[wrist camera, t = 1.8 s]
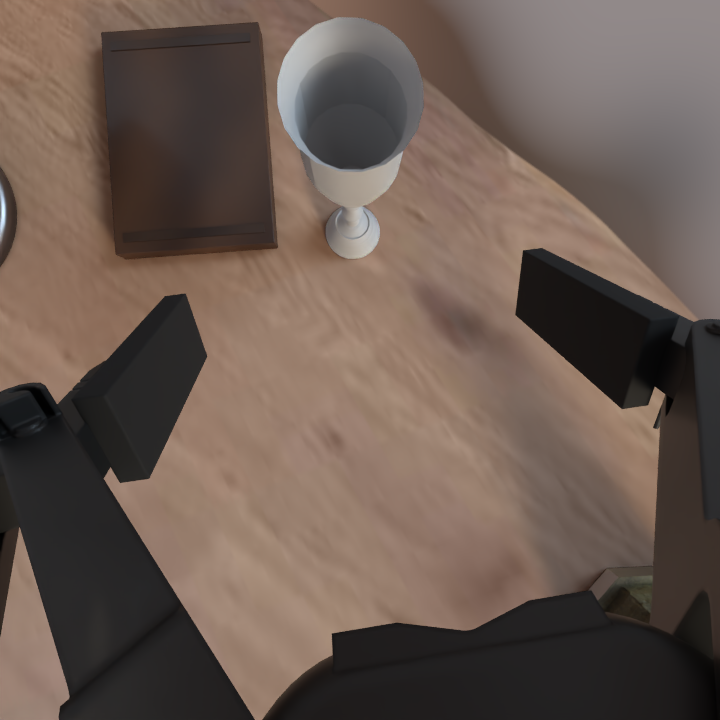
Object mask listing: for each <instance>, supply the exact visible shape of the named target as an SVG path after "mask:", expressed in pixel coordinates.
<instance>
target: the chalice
mask: <svg viewBox="0 0 720 720" xmlns="http://www.w3.org/2000/svg"><path fill="white" fill-rule="evenodd" d="M277 93H278V108H279V111H280V114H281V118H282V121H283V124H284V127H285V129H286V131H287V132H288V134H289V135H290V137H291V138H292V140H293V141H294V143H295V144H296V146H297V147H298V148H299V149H300V152H301V156H302V160H303V164H304V167H305V170H306V173H307V176H308V177H309V179H310V180H311V182H312V183H313V185H314V186H315V188H316V189H317V190H318V191H319V192H321V193H322V194H323V195H324V196H326V197H327V198H328V199H330V200H331V201H332V202H334V203H336V204H338V205H341V206H342V207H340V208H339V209H337V210H336V211H335V212H333V214H332V215H331V216H330V218H329V219H328V222H327V225H326V239H327V242H328V244H329V246H330V247H331V249H332V250H333V251H334V252H335V253H337V254H338V255H339V256H341V257H344V258H347V259H358V258H362V257H365V256H366V255H368V254H369V253H370V252H372V251H373V249H374V248H375V247H376V245H377V243H378V240H379V237H380V227H379V224H378V221H377V219H376V218H375V216H374V215H373V214H372V212H370V211H369V210H368V209H366V208H365V207H362V206H364V205H367V204H370V203H371V202H373V201H374V200H375V199H377V198H378V197H379V196H381V195H382V194H383V193H384V192H386V191H387V190H388V189H389V187H390V186H391V184H392V183H393V181H394V180H395V178H396V176H397V172H398V169H399V165H400V162H401V158H402V153H403V150H404V149H405V148H406V146H407V145H408V143H409V142H410V140H411V139H412V137H413V136H414V134H415V133H416V131H417V129H418V126H419V122H420V119H421V115H422V111H423V108H424V101H423V82H422V78H421V75H420V72H419V69H418V66H417V63H416V60H415V59H414V57H413V56H412V54H411V53H410V52H409V50H408V48H407V47H406V46H405V44H404V42H403V41H402V40H400V39H399V38H398V37H397V36H395V35H394V34H393V33H392V32H390V31H389V30H388V29H387V28H385V27H384V26H382V25H379V24H376V23H374V22H371V21H368V20H365V19H363V18H342V17H338V18H335V19H332V20H329V21H326V22H322V23H319V24H316V25H315V26H313V27H312V28H311V29H310V30H308V31H307V32H306V33H304V34H303V35H302V36H300V37H299V38H298V39H297V40H296V41H295V43H294V44H293V46H292V47H291V49H290V50H289V52H288V53H287V55H286V56H285V58H284V60H283V64H282V67H281V70H280V74H279V77H278V81H277Z"/></svg>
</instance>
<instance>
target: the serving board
mask: <svg viewBox="0 0 720 720" xmlns="http://www.w3.org/2000/svg"><path fill="white" fill-rule="evenodd" d="M101 36H102V52H103V67H104V82H105V98H106V113H107V128H108V144H109V159H110V174H111V190H112V205H113V220H114V236H115V251H116V255H118V256H120V257H122V258H124V259H135V258H148V257H162V256H176V255H189V254H203V253H216V252H230V251H243V250H257V249H270V248H278V245H277V231H276V218H275V204H274V191H273V177H272V164H271V150H270V137H269V123H268V110H267V96H266V83H265V70H264V56H263V43H262V34H261V31H260V27H259V24H258V22H254V23H239V24H223V25H208V26H193V27H178V28H162V29H147V30H132V31H117V32H102V33H101Z"/></svg>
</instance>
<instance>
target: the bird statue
mask: <svg viewBox="0 0 720 720" xmlns="http://www.w3.org/2000/svg"><path fill="white" fill-rule="evenodd" d="M652 582H653V566H643V567H623V568H607V569H606V570H605V571H604V573H603V574H602V575H601V576H600V577H599V578H598V579H597V581H596V582H595V583H594V584H593V585H592V586H591V587H590V589H589V590H592V592H593V594H594V595H595V597H596V598H597V600H598V602H599V603H600V605H601V607H602V608H603V610H604V612H609V613H613V614H618V615H622V616H626V617H630V618H633V619H636V620H639V621H642V622H645V623H648V624H649V622H650V616H651V602H652ZM589 590H588V591H589Z"/></svg>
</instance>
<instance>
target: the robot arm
mask: <svg viewBox="0 0 720 720" xmlns="http://www.w3.org/2000/svg"><path fill="white" fill-rule="evenodd" d="M16 224H17V209H16V202H15V197H14V194H13V191H12V188H11V185H10V183H9V181H8V179H7V177H6V175H5V174H4V172H3V171H2V169H1V168H0V266H1V265H2V263H3V262H4V260H5V259H6V257H7V255H8V253H9V251H10V248H11V246H12V243H13V240H14V237H15V232H16ZM516 316H517V317H518V318H520V319H521V320H522V321H523V322H524V323H525V324H526V325H528V326H529V327H530V328H531V329H532V330H533V331H534V332H535V333H537V334H538V335H539V336H540V337H541V338H542V339H543V340H544V341H546V342H547V343H548V344H549V345H550V346H551V347H552V348H554V349H555V350H556V351H557V352H558V353H559V354H560V355H561V356H563V357H564V358H565V359H566V360H567V361H568V362H569V363H570V364H572V365H573V366H574V367H575V368H576V369H577V370H578V371H580V372H581V373H582V374H583V375H584V376H585V377H586V378H587V379H589V380H590V381H591V382H592V383H593V384H594V385H595V386H596V387H598V388H599V389H600V390H601V391H602V392H603V393H604V394H606V395H607V396H608V397H609V398H610V399H611V400H612V401H613V402H615V403H616V404H617V405H618V406H619V407H620V408H621V409H625V408H632V407H639V406H646V405H648V404H649V401H650V398H651V395H652V392H653V390H654V387H656V388H658V389H659V390H660V391H662V392H663V393H665V394H666V395H665V398H664V400H663V403H662V405H661V408H660V411H659V413H658V416H657V419H656V421H655V424H654V427H653V428H656V429H658V428H659V427H660V440H659V460H658V480H657V501H656V521H655V541H654V562H653V582H652V602H651V616H650V622H649V624H648V623H645V622H642V621H639V620H636V619H633V618H630V617H626V616H622V615H618V614H613V613H609V612H604V610H603V608H602V607H601V605H600V603H599V602H598V600H597V598H596V597H595V595H594V594H593V592H592V590H589V591H583V592H577V593H571V594H565V595H559V596H553V597H547V598H541V599H535V600H530V601H527V602H526V603H524V604H522V605H520V606H518V607H516V608H514V609H512V610H510V611H508V612H506V613H504V614H503V615H501V616H499V617H497V618H495V619H493V620H491V621H489V622H487V623H485V624H483V625H481V626H480V627H478V628H476V629H473V630H469V631H461V630H453V629H445V628H437V627H428V626H420V625H412V624H403V623H392V624H386V625H380V626H374V627H368V628H362V629H356V630H350V631H345V632H339V633H333V634H332V647H333V655H332V656H330V657H328V658H326V659H324V660H322V661H321V662H319V663H318V664H316V665H315V666H313V667H312V668H310V669H309V670H307V671H306V672H305V673H304V674H302V675H301V676H300V677H299V678H298V679H297V680H296V681H294V682H293V683H292V684H291V685H290V686H289V687H288V688H287V689H286V691H285V692H284V693H283V694H282V695H281V696H280V697H279V698H278V699H277V701H276V702H275V703H274V705H273V706H272V707H271V709H270V710H269V711H268V713H267V714H266V715H265V717H264V718H263V720H720V320H717V319H705V320H699V321H696V322H693V321H691V320H688V319H686V318H684V317H682V316H680V315H678V314H676V313H674V312H672V311H670V310H668V309H666V308H663V307H662V306H660V305H658V304H656V303H653V302H652V301H650V300H648V299H646V298H644V297H642V296H640V295H636V294H634V293H632V292H630V291H628V290H626V289H624V288H622V287H620V286H618V285H616V284H614V283H612V282H610V281H608V280H606V279H604V278H602V277H600V276H598V275H596V274H594V273H592V272H589V271H587V270H585V269H583V268H581V267H579V266H577V265H575V264H573V263H571V262H569V261H567V260H565V259H563V258H561V257H559V256H557V255H555V254H553V253H551V252H549V251H547V250H545V249H543V248H539V249H531V250H524V251H523V256H522V264H521V272H520V281H519V289H518V298H517V306H516ZM206 358H207V354H206V351H205V348H204V345H203V343H202V340H201V337H200V334H199V331H198V328H197V325H196V322H195V319H194V316H193V313H192V311H191V308H190V305H189V302H188V299H187V296H186V294H179V295H171V296H165V297H164V298H163V299H162V300H161V301H160V302H159V303H158V305H157V306H156V307H155V308H154V309H153V310H152V311H151V312H150V313H149V314H148V316H147V317H146V318H145V319H144V320H143V321H142V322H141V323H140V324H139V325H138V326H137V328H136V329H135V330H134V331H133V332H132V333H131V334H130V335H129V336H128V337H127V339H126V340H125V341H124V342H123V343H122V344H121V345H120V346H119V347H118V348H117V349H116V351H115V352H114V353H113V354H112V355H111V356H110V357H109V358H108V359H107V360H106V361H104V362H102V363H101V364H99V365H98V366H96V367H94V368H93V369H91V370H90V371H89V372H88V373H87V374H86V375H85V376H84V377H83V378H82V379H81V380H80V382H79V383H77V384H76V385H75V386H74V388H73V391H70V392H69V393H68V394H67V395H66V396H65V397H64V398H63V399H62V400H61V401H60V402H59V403H58V404H56V402H55V400H54V399H53V397H52V396H51V394H50V392H49V391H48V389H47V388H46V386H45V385H43V384H42V383H27V384H22V385H18V386H15V387H11V388H8V389H6V390H3V391H1V392H0V635H1V629H2V623H3V618H4V612H5V606H6V600H7V595H8V589H9V583H10V577H11V572H12V566H13V560H14V554H15V549H16V543H17V537H18V531H19V527H20V529H21V532H22V536H23V539H24V542H25V546H26V549H27V552H28V556H29V559H30V562H31V566H32V569H33V572H34V576H35V579H36V582H37V586H38V589H39V592H40V596H41V599H42V602H43V606H44V609H45V612H46V616H47V619H48V622H49V626H50V629H51V632H52V636H53V639H54V642H55V646H56V649H57V652H58V656H59V659H60V663H61V666H62V669H63V673H64V676H65V679H66V683H67V686H68V690H69V695H70V697H69V700H67V701H66V702H65V703H64V704H63V705H61V706H60V712H59V720H255V719H254V718H253V716H252V715H251V713H250V711H249V710H248V708H247V707H246V705H245V703H244V702H243V700H242V699H241V697H240V695H239V694H238V692H237V691H236V689H235V687H234V686H233V684H232V683H231V681H230V679H229V678H228V676H227V675H226V673H225V671H224V670H223V668H222V667H221V665H220V663H219V662H218V660H217V659H216V657H215V656H214V654H213V652H212V651H211V649H210V648H209V646H208V644H207V643H206V641H205V640H204V638H203V636H202V635H201V633H200V632H199V630H198V628H197V627H196V625H195V624H194V622H193V620H192V619H191V617H190V616H189V614H188V612H187V611H186V609H185V608H184V606H183V605H182V603H181V602H180V600H179V599H178V597H177V595H176V594H175V592H174V591H173V589H172V587H171V586H170V584H169V583H168V581H167V579H166V578H165V576H164V575H163V573H162V571H161V570H160V568H159V567H158V565H157V563H156V562H155V560H154V559H153V557H152V555H151V554H150V552H149V551H148V549H147V547H146V546H145V544H144V543H143V541H142V539H141V538H140V536H139V535H138V533H137V532H136V530H135V528H134V527H133V525H132V524H131V522H130V520H129V519H128V517H127V516H126V514H125V512H124V511H123V509H122V508H121V506H120V504H119V503H118V501H117V500H116V498H115V496H114V495H113V493H112V492H111V490H110V488H109V487H108V485H107V484H106V482H105V480H104V479H103V478H104V477H105V475H106V474H107V472H108V470H109V469H110V467H111V468H112V470H113V472H114V474H115V475H116V477H117V479H118V480H119V482H120V483H123V482H129V481H136V480H143V479H149V478H150V476H151V474H152V472H153V470H154V467H155V465H156V463H157V461H158V459H159V457H160V455H161V453H162V451H163V449H164V446H165V444H166V442H167V440H168V438H169V436H170V434H171V432H172V430H173V427H174V425H175V423H176V421H177V419H178V417H179V415H180V413H181V411H182V409H183V406H184V404H185V402H186V400H187V398H188V396H189V394H190V392H191V390H192V387H193V385H194V383H195V381H196V379H197V377H198V375H199V373H200V371H201V368H202V366H203V364H204V362H205V360H206Z"/></svg>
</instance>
